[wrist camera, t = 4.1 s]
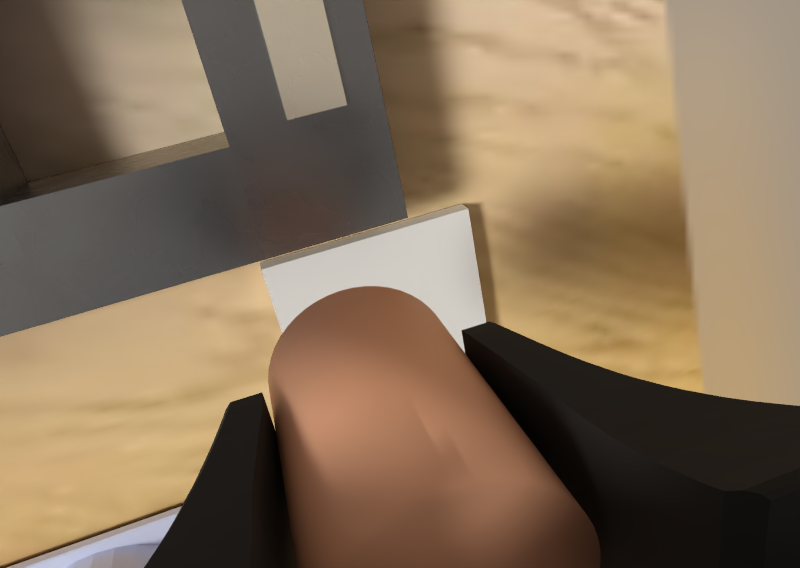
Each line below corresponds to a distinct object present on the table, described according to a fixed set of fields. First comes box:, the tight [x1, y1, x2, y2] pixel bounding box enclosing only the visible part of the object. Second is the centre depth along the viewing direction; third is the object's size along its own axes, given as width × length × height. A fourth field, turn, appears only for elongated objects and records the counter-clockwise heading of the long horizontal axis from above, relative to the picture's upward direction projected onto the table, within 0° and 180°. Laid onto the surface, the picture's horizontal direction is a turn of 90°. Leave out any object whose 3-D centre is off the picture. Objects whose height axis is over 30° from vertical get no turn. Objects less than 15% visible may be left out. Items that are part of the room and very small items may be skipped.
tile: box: [260, 204, 486, 353], centre depth 21 cm, size 7×7×1 cm
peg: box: [268, 286, 600, 568], centre depth 11 cm, size 4×4×6 cm
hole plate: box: [0, 0, 408, 337], centre depth 15 cm, size 12×14×3 cm
